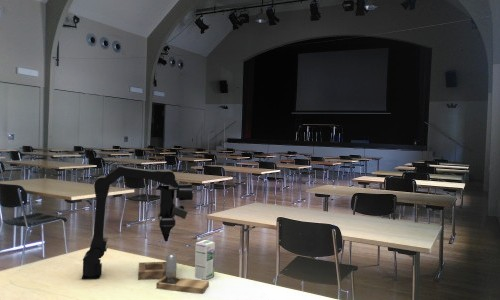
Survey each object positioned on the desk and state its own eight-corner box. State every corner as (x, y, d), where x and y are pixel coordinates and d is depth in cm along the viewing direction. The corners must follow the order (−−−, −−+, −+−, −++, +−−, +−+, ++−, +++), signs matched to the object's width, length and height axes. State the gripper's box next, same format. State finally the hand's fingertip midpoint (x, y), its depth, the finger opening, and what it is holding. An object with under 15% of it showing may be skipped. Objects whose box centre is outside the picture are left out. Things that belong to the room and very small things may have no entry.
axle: (165, 288, 158) (166, 256, 157) (164, 284, 162) (166, 253, 161) (176, 287, 159) (177, 256, 158) (175, 283, 163) (176, 253, 162)
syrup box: (205, 280, 167) (207, 244, 167) (194, 277, 170) (195, 241, 170) (214, 276, 172) (215, 241, 171) (202, 273, 175) (204, 239, 175)
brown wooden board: (156, 288, 157) (156, 283, 157) (164, 281, 165) (164, 275, 165) (202, 293, 154) (202, 288, 153) (208, 286, 161) (208, 281, 161)
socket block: (138, 279, 165) (138, 272, 165) (138, 269, 177) (138, 262, 176) (169, 278, 168) (169, 271, 168) (167, 268, 179) (167, 261, 179)
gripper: (189, 204, 165) (187, 243, 166) (184, 196, 183) (183, 232, 184) (160, 204, 162) (158, 244, 163) (158, 196, 180) (157, 232, 181)
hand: (165, 238), depth 173 cm, fingers open, 9 cm apart
